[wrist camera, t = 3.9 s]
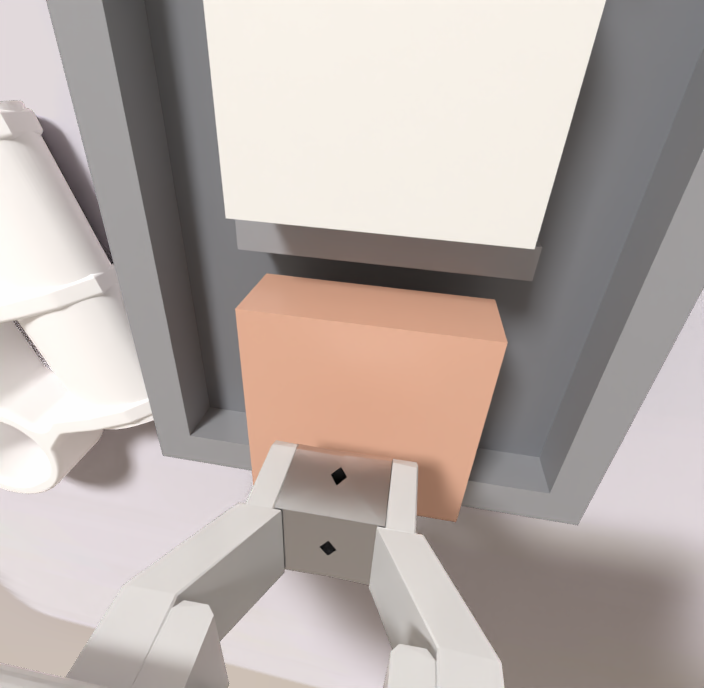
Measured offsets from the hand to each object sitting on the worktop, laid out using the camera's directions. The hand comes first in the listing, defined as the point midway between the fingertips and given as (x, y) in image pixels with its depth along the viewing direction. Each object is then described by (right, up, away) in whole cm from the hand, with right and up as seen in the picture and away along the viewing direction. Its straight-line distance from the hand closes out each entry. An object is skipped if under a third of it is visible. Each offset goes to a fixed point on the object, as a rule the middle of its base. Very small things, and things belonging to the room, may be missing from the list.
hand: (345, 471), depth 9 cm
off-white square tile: (+1, +8, -1) cm, 8 cm away
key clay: (+1, +2, +3) cm, 3 cm away
